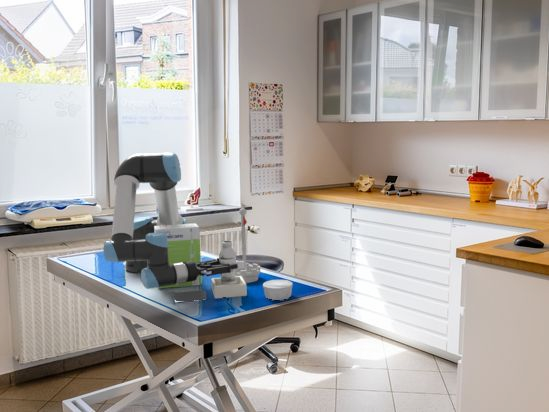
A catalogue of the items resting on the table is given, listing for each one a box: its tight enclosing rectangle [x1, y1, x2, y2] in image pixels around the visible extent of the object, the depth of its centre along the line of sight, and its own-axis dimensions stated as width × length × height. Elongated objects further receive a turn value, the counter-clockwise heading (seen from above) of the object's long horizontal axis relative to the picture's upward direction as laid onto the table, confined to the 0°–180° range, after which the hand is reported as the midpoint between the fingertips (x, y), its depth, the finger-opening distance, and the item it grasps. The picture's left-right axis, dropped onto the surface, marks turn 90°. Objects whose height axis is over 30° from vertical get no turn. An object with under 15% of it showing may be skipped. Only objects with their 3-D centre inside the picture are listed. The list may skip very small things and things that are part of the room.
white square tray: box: [210, 276, 248, 299], centre depth 224 cm, size 12×12×4 cm
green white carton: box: [154, 222, 203, 289], centre depth 237 cm, size 18×10×24 cm, turn 105°
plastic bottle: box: [218, 240, 237, 286], centre depth 223 cm, size 6×7×20 cm
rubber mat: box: [172, 289, 208, 302], centre depth 221 cm, size 12×12×1 cm
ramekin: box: [262, 279, 294, 301], centre depth 217 cm, size 11×11×5 cm
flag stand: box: [235, 207, 261, 284], centre depth 241 cm, size 13×13×30 cm
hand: (239, 262), depth 226 cm, fingers closed on plastic bottle, 6 cm apart
